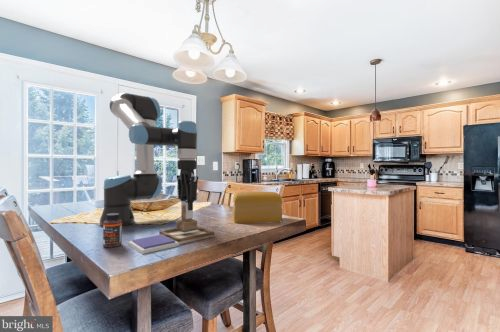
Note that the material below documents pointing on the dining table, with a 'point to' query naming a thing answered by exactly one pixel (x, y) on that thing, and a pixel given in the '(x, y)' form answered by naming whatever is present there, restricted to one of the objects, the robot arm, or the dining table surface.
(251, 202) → the bread
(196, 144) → the robot arm
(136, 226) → the dining table surface
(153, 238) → the ink pad
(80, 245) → the dining table surface
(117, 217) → the supplement bottle
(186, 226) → the stamp
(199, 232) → the print board
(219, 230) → the dining table surface
